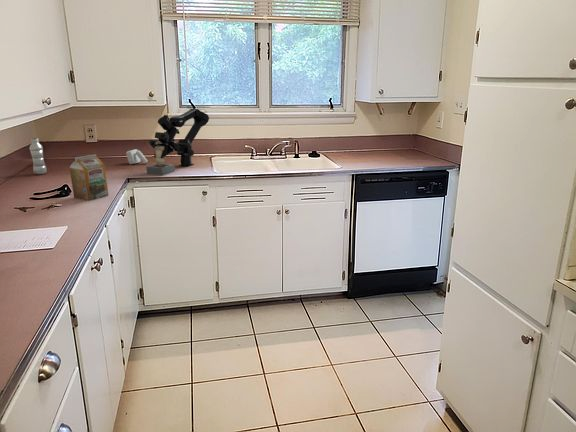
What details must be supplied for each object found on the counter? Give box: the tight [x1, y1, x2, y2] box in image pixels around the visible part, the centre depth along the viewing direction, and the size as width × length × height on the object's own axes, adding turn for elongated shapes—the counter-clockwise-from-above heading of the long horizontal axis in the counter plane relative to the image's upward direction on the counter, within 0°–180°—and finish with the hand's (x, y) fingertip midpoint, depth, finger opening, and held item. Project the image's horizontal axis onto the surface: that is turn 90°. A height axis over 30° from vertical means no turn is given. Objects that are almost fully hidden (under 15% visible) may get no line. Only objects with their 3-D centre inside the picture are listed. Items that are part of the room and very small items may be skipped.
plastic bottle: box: [29, 137, 48, 175], centre depth 249 cm, size 6×7×20 cm
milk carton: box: [69, 153, 109, 202], centre depth 204 cm, size 11×11×19 cm
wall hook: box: [125, 148, 149, 165], centre depth 280 cm, size 8×10×10 cm
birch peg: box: [154, 146, 165, 167], centre depth 255 cm, size 4×4×12 cm
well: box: [146, 163, 176, 176], centre depth 256 cm, size 11×11×4 cm
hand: (158, 157), depth 253 cm, fingers closed on birch peg, 4 cm apart
